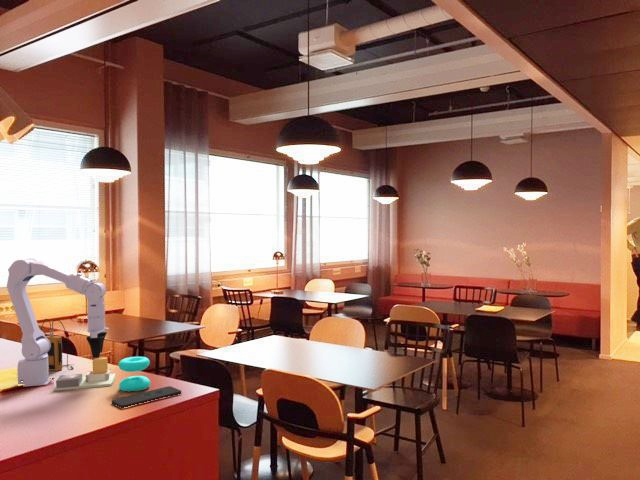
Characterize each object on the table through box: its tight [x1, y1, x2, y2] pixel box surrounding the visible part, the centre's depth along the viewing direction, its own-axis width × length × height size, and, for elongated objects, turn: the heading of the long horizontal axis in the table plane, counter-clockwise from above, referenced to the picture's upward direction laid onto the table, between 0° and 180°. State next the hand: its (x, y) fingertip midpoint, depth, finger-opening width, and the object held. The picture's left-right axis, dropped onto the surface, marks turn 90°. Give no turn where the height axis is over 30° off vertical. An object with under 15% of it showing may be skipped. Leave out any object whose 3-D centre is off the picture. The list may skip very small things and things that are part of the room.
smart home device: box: [111, 385, 182, 409], centre depth 171 cm, size 8×2×20 cm
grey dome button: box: [55, 373, 83, 388], centre depth 187 cm, size 7×7×3 cm
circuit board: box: [54, 372, 117, 392], centre depth 191 cm, size 18×14×1 cm
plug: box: [92, 356, 109, 374], centre depth 194 cm, size 5×3×7 cm, turn 105°
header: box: [85, 368, 112, 382], centre depth 194 cm, size 8×6×2 cm
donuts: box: [118, 356, 151, 393], centre depth 183 cm, size 10×10×10 cm
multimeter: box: [40, 318, 75, 372], centre depth 214 cm, size 15×10×20 cm
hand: (97, 354), depth 193 cm, fingers open, 5 cm apart
